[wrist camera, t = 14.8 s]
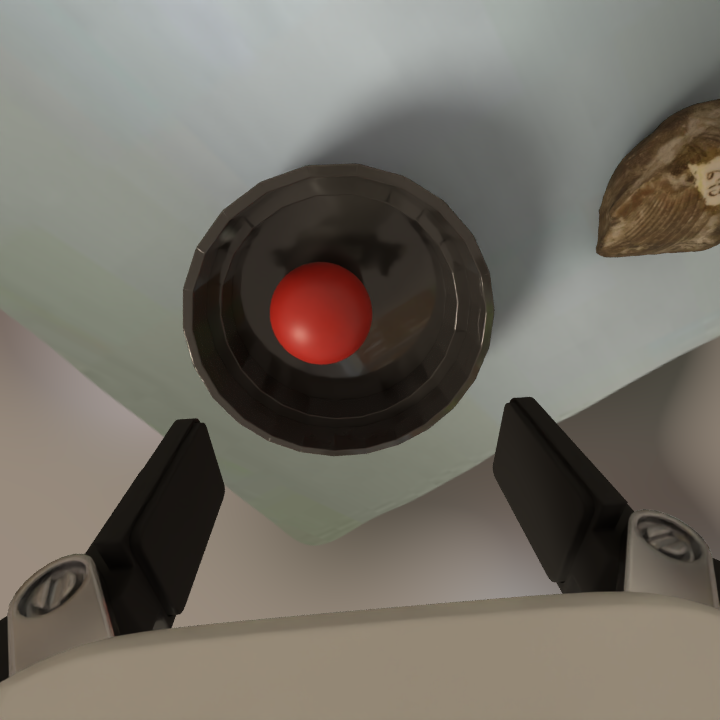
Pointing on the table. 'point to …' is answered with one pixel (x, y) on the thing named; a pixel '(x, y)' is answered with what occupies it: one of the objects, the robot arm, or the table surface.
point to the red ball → (320, 313)
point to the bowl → (387, 295)
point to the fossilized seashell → (666, 189)
